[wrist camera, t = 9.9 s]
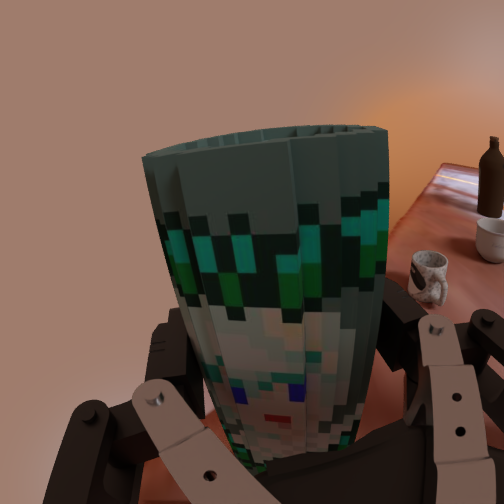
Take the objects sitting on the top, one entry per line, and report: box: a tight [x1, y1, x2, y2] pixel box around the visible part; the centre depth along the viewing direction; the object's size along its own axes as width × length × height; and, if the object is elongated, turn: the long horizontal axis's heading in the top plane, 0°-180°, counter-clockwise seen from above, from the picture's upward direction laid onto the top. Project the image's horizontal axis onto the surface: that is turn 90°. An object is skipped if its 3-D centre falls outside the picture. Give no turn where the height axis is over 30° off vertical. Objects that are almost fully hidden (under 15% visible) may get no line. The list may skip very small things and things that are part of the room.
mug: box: [408, 250, 448, 306], centre depth 44 cm, size 10×7×7 cm
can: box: [142, 125, 389, 476], centre depth 11 cm, size 6×6×15 cm
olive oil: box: [477, 136, 504, 218], centre depth 69 cm, size 11×11×25 cm
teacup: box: [476, 218, 504, 263], centre depth 51 cm, size 14×11×8 cm
